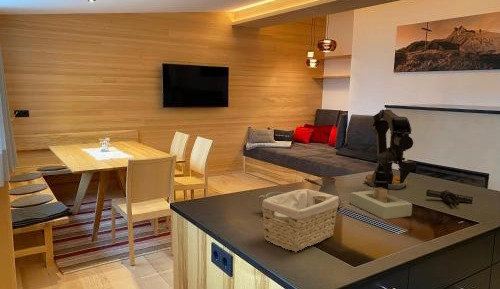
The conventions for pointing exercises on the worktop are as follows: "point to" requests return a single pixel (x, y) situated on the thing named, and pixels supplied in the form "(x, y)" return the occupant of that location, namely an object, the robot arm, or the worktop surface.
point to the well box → (381, 205)
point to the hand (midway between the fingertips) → (393, 180)
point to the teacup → (268, 196)
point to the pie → (394, 185)
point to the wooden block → (380, 194)
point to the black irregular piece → (449, 197)
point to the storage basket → (299, 218)
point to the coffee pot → (326, 187)
